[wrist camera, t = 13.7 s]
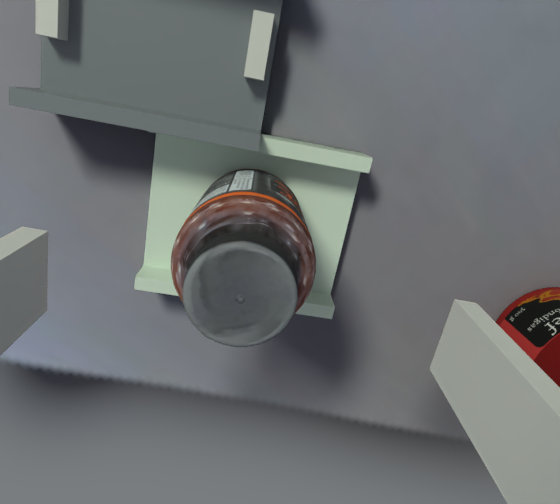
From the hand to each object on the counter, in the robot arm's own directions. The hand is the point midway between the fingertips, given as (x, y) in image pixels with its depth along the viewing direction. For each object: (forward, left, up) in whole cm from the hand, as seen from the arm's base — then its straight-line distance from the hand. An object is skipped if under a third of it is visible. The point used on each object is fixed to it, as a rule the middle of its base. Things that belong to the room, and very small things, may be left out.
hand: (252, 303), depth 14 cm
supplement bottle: (0, 0, -12) cm, 12 cm away
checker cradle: (+6, -9, -13) cm, 17 cm away
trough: (0, 0, -13) cm, 13 cm away
